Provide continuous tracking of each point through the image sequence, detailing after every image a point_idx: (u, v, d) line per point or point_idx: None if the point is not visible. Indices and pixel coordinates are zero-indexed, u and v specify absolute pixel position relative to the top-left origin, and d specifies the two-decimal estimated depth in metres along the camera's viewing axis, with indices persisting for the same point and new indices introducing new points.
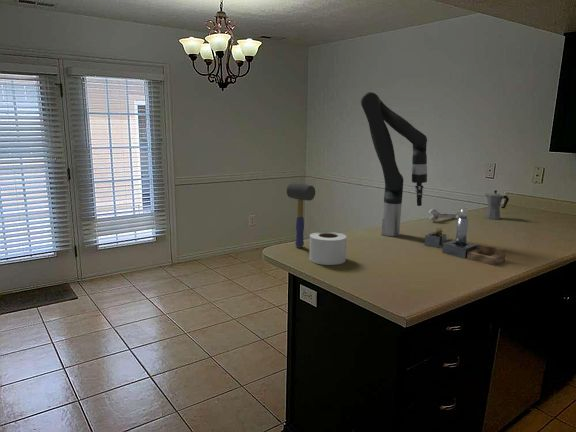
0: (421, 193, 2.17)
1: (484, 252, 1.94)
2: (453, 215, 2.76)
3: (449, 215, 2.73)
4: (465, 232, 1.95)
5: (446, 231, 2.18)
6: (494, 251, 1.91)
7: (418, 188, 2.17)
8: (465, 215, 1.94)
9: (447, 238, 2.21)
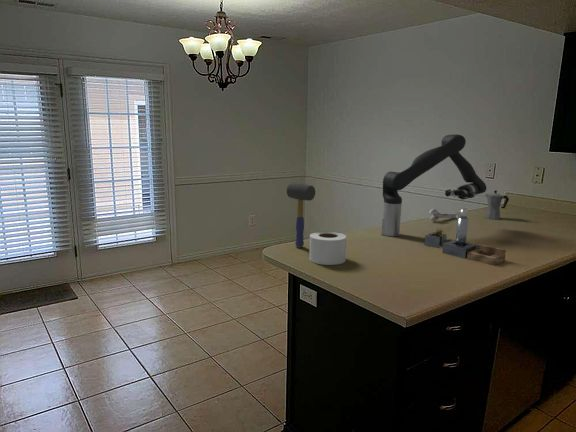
0: (472, 197, 2.24)
1: (484, 252, 1.94)
2: (453, 215, 2.76)
3: (449, 215, 2.73)
4: (465, 232, 1.95)
5: (446, 231, 2.18)
6: (494, 251, 1.91)
7: (474, 193, 2.26)
8: (465, 215, 1.94)
9: (447, 238, 2.21)
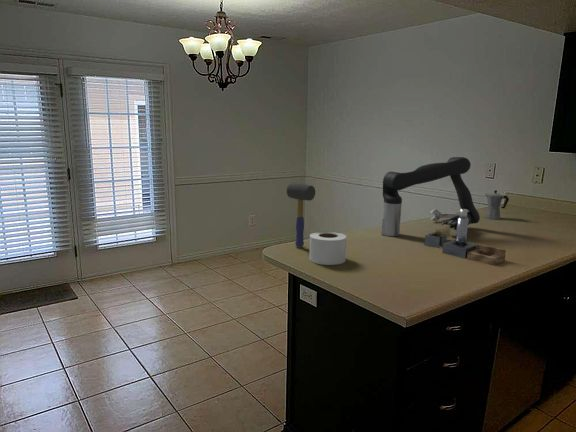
0: None
1: (484, 252, 1.94)
2: (453, 215, 2.76)
3: (450, 215, 2.73)
4: (465, 232, 1.95)
5: (445, 232, 2.18)
6: (494, 251, 1.91)
7: None
8: (465, 215, 1.94)
9: (446, 238, 2.20)
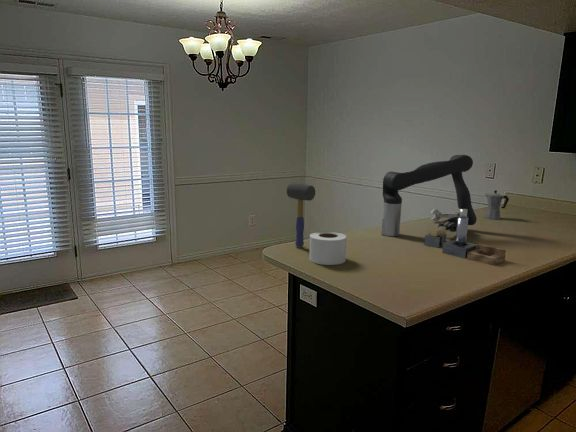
0: (455, 230, 2.21)
1: (484, 252, 1.94)
2: (453, 215, 2.76)
3: (450, 215, 2.73)
4: (465, 232, 1.95)
5: (440, 234, 2.13)
6: (494, 251, 1.91)
7: None
8: (465, 215, 1.94)
9: None
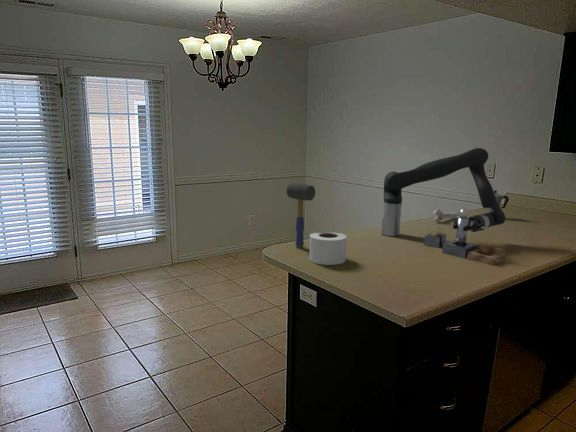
0: (478, 230, 1.95)
1: (484, 252, 1.94)
2: (454, 215, 2.76)
3: (451, 215, 2.73)
4: (465, 232, 1.95)
5: (440, 234, 2.13)
6: (494, 251, 1.91)
7: (482, 226, 1.96)
8: (465, 215, 1.94)
9: None
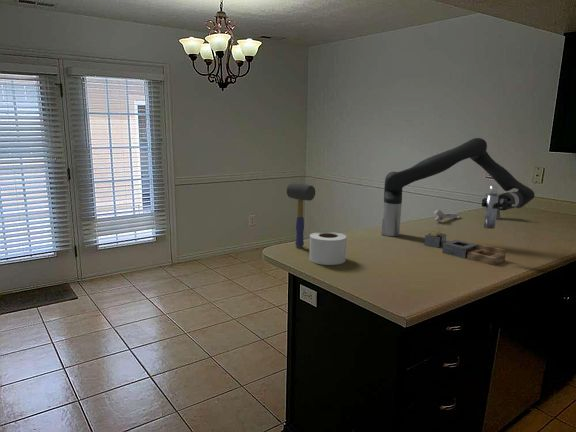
0: (509, 207, 1.84)
1: (484, 252, 1.94)
2: (454, 215, 2.76)
3: (451, 215, 2.73)
4: (495, 210, 1.84)
5: (440, 234, 2.13)
6: (494, 251, 1.91)
7: (513, 204, 1.84)
8: (495, 192, 1.83)
9: None
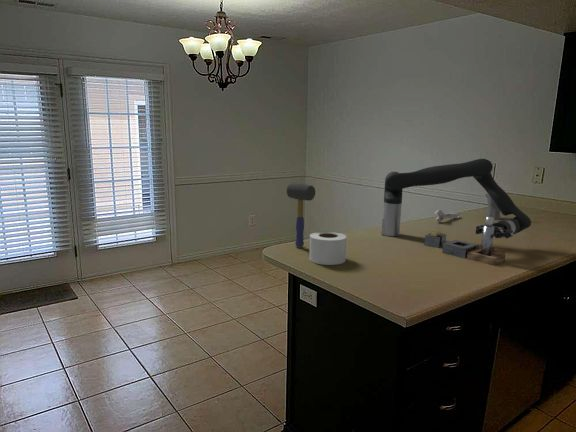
0: (509, 236, 1.86)
1: None
2: (455, 215, 2.76)
3: (452, 215, 2.73)
4: (491, 241, 1.87)
5: (440, 234, 2.13)
6: (494, 251, 1.91)
7: (512, 232, 1.87)
8: (491, 223, 1.86)
9: None
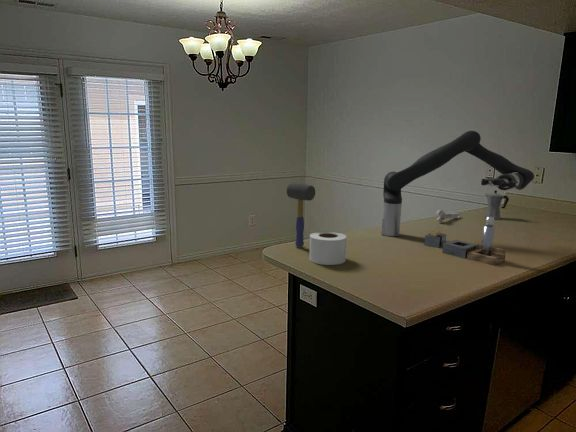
0: (514, 186, 1.93)
1: None
2: (455, 215, 2.76)
3: (452, 215, 2.73)
4: (491, 241, 1.87)
5: (440, 234, 2.13)
6: (494, 251, 1.91)
7: (516, 183, 1.95)
8: (491, 223, 1.86)
9: None
